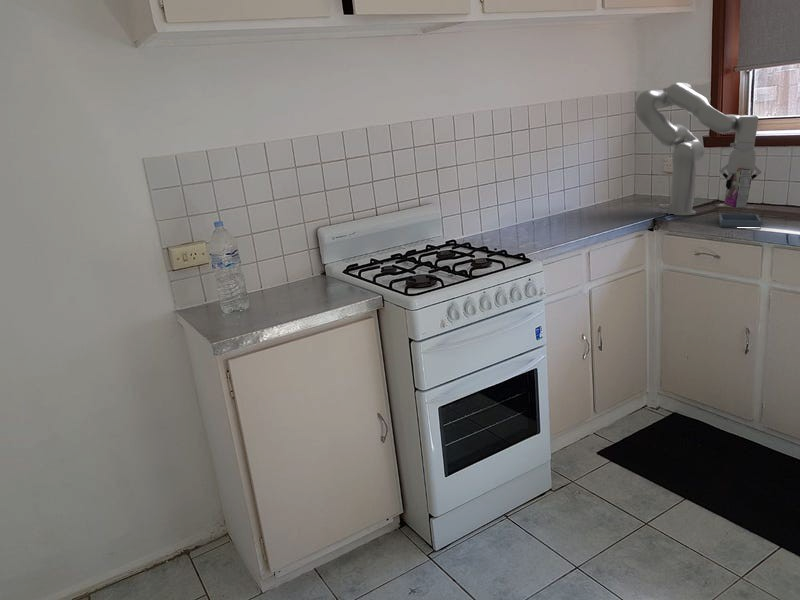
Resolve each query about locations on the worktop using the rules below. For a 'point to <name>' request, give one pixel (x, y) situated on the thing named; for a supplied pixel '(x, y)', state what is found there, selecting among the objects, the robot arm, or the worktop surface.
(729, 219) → the tray
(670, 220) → the worktop surface
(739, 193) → the candy bar box
